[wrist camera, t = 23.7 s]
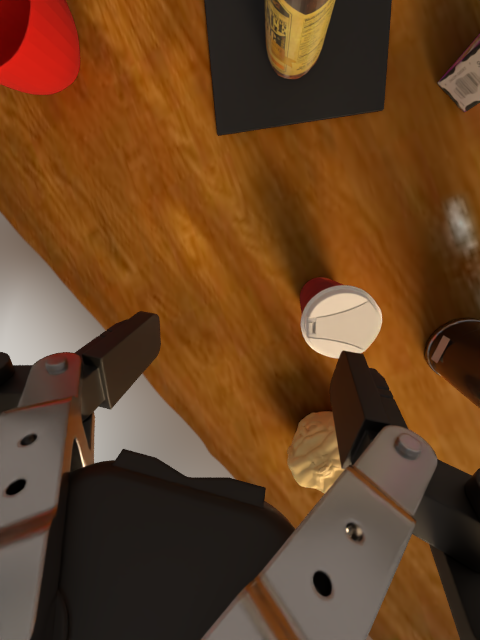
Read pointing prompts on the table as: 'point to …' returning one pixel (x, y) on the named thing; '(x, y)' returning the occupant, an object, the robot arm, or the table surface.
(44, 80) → the ceramic cup
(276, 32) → the sauce bottle
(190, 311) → the table surface
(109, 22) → the table surface
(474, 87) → the candy bar box
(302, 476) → the sculpture
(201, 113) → the table surface
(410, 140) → the table surface
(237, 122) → the placemat
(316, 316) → the paper cup
